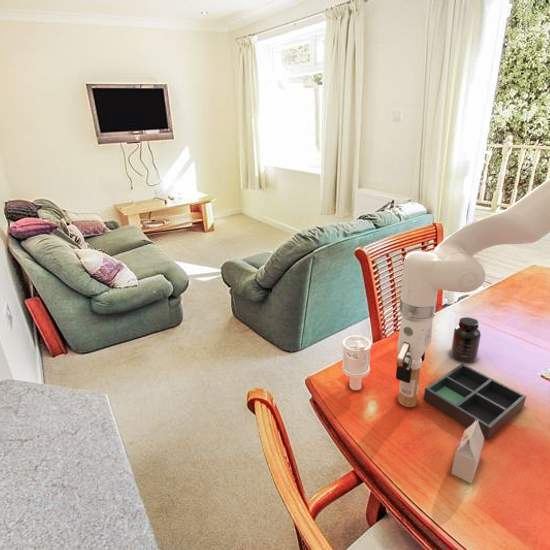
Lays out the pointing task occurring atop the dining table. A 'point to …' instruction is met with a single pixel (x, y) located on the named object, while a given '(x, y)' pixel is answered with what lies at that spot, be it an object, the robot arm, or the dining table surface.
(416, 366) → the sprinkles bottle
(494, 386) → the rack
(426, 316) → the robot arm
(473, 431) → the white gable-top carton
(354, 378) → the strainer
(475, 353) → the supplement bottle
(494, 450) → the dining table surface
